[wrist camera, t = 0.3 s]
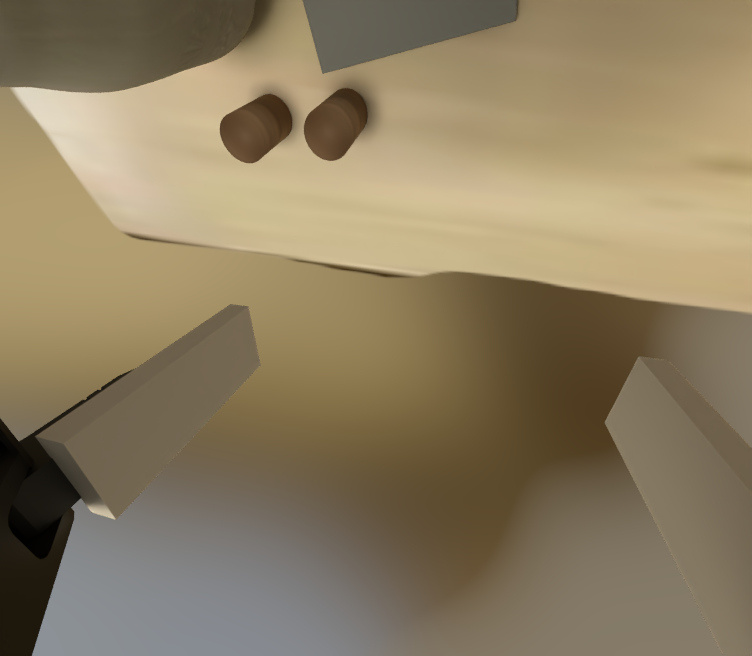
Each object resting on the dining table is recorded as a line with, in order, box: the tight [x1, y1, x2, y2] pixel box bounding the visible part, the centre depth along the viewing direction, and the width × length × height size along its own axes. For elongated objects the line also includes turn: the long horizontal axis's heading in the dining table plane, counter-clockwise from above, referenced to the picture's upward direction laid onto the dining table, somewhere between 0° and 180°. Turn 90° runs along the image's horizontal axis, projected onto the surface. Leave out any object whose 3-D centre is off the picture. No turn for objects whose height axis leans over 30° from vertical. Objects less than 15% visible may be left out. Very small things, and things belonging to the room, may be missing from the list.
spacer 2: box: [304, 88, 367, 161], centre depth 29 cm, size 4×4×7 cm
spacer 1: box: [220, 94, 292, 163], centre depth 31 cm, size 4×4×7 cm
